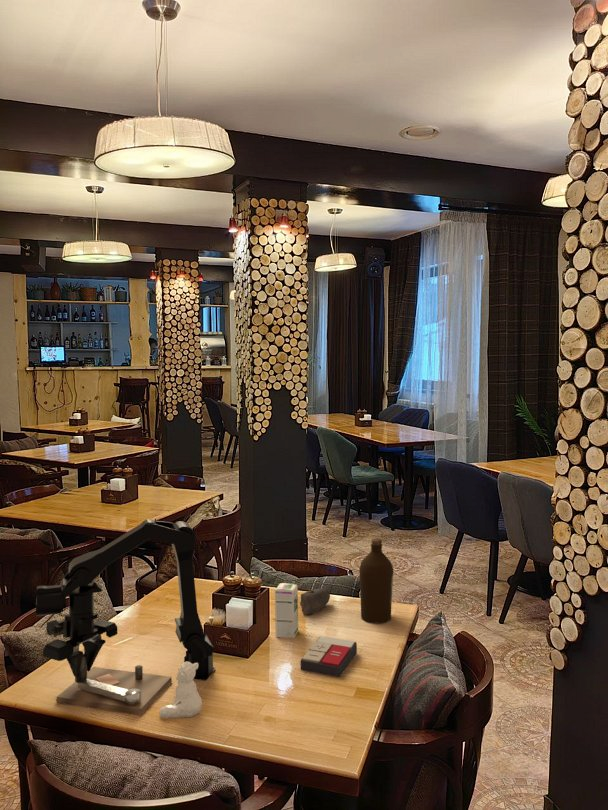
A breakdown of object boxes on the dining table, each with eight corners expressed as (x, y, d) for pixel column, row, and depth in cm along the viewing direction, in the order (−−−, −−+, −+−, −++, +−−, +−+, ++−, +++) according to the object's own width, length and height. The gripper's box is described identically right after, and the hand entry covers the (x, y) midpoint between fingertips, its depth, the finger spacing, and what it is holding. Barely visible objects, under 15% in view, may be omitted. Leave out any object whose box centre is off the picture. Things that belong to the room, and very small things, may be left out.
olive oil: (365, 625, 204) (365, 545, 203) (354, 613, 214) (355, 536, 213) (397, 622, 206) (398, 543, 205) (386, 610, 217) (386, 534, 215)
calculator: (299, 657, 175) (319, 633, 188) (300, 673, 175) (320, 647, 189) (339, 664, 171) (357, 639, 184) (339, 680, 171) (357, 654, 185)
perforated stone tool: (323, 601, 225) (323, 581, 224) (336, 605, 221) (336, 585, 221) (295, 615, 213) (295, 593, 213) (307, 619, 210) (307, 597, 209)
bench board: (171, 682, 168) (171, 665, 168) (141, 715, 152) (140, 696, 152) (93, 672, 173) (93, 655, 173) (56, 703, 158) (56, 684, 158)
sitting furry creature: (180, 698, 160) (179, 649, 159) (211, 705, 157) (211, 655, 156) (157, 717, 151) (156, 666, 151) (189, 725, 148) (189, 673, 147)
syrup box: (294, 638, 195) (294, 590, 194) (274, 637, 196) (274, 588, 195) (298, 631, 200) (298, 583, 199) (279, 629, 201) (279, 582, 200)
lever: (144, 698, 156) (144, 667, 155) (134, 706, 153) (133, 674, 152) (82, 681, 164) (81, 652, 164) (71, 688, 161) (70, 657, 160)
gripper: (86, 593, 173) (87, 652, 174) (26, 616, 157) (27, 681, 158) (118, 601, 168) (119, 661, 169) (59, 626, 151) (60, 693, 152)
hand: (82, 673), depth 162 cm, fingers open, 3 cm apart
